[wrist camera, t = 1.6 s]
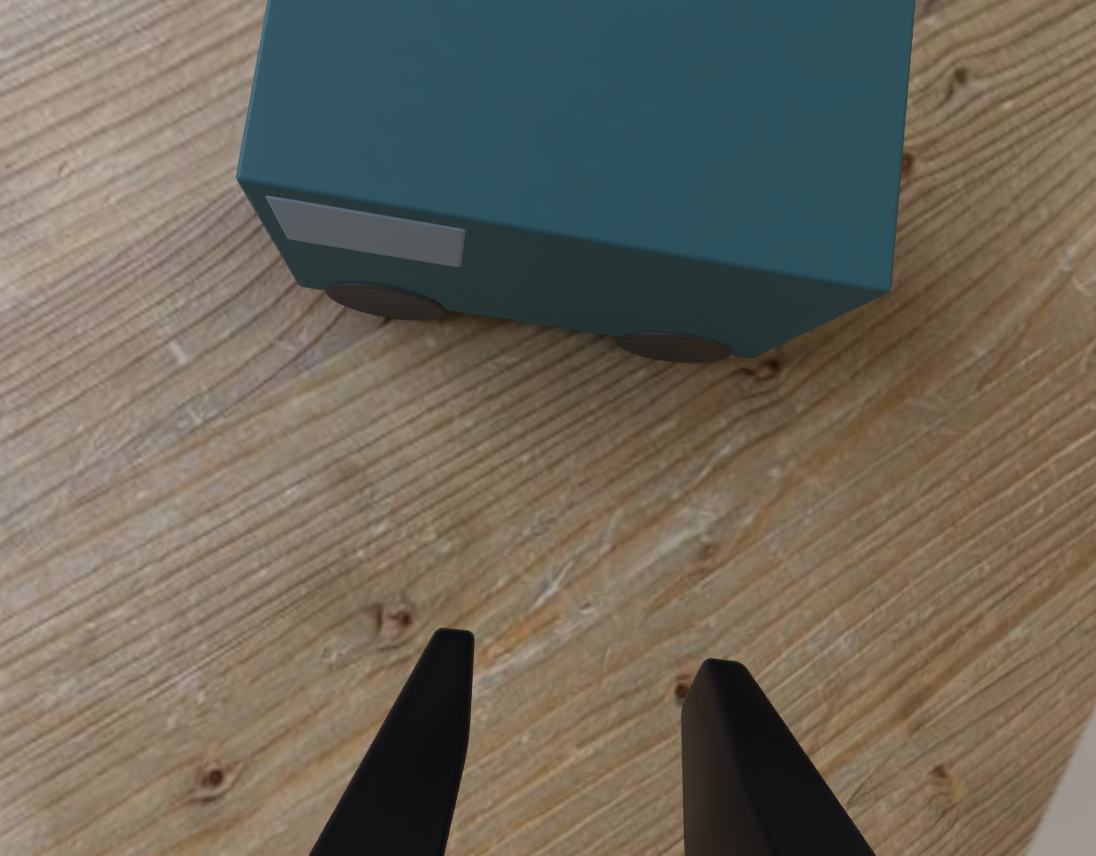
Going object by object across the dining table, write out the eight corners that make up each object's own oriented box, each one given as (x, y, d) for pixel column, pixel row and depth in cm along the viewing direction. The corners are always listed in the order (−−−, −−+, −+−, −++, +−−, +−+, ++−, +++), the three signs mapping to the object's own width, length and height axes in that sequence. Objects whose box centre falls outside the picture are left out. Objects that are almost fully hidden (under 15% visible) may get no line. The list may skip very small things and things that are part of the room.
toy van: (754, 166, 25) (918, -9, 17) (733, 372, 24) (892, 298, 16) (342, 88, 23) (292, -147, 15) (306, 305, 23) (232, 184, 14)
